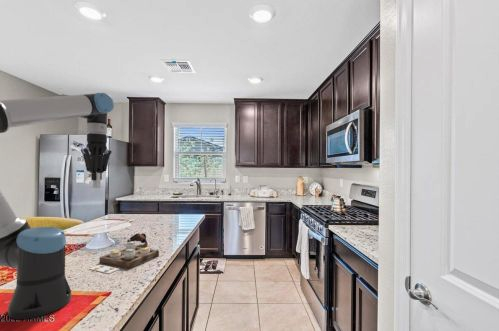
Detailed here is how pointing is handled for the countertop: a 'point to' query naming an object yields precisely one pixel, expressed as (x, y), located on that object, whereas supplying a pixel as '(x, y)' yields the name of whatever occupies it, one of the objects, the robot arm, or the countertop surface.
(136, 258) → the button board
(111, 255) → the button inner left
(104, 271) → the pattern card
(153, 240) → the countertop surface
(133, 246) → the button outer left
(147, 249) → the button outer right
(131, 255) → the button inner right
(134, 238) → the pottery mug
